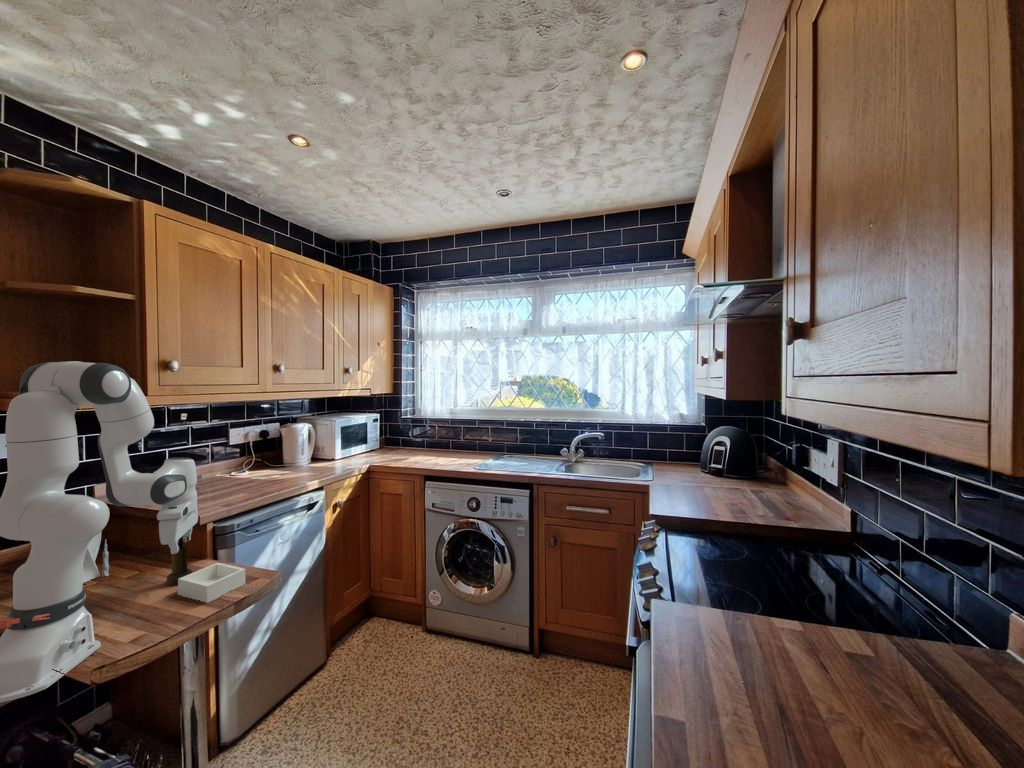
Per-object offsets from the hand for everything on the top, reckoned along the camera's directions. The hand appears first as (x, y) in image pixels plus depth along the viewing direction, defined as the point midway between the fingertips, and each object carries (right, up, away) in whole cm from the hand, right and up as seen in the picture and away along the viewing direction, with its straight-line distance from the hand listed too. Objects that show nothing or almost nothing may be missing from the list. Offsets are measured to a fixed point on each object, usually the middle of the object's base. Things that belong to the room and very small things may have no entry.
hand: (181, 546), depth 134 cm
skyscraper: (-31, -11, 0) cm, 33 cm away
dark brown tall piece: (0, -11, 0) cm, 11 cm away
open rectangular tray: (+15, -11, -6) cm, 19 cm away
